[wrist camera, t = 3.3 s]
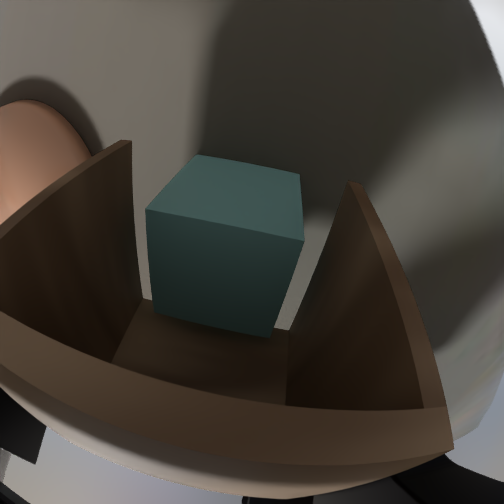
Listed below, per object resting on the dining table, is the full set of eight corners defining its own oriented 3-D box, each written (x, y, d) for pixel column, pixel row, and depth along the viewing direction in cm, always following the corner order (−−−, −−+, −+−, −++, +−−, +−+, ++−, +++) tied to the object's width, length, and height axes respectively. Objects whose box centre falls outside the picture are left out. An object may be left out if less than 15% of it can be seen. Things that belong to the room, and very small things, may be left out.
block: (299, 173, 11) (304, 240, 7) (276, 255, 14) (269, 338, 10) (196, 153, 11) (145, 209, 7) (190, 237, 14) (154, 311, 10)
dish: (150, 193, 13) (139, 205, 12) (76, 303, 19) (69, 313, 18) (6, 63, 8) (-8, 67, 7) (-23, 204, 14) (-32, 212, 13)
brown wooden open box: (360, 183, 7) (453, 449, 2) (295, 337, 12) (285, 499, 6) (121, 139, 7) (-69, 301, 2) (135, 301, 12) (72, 443, 6)
